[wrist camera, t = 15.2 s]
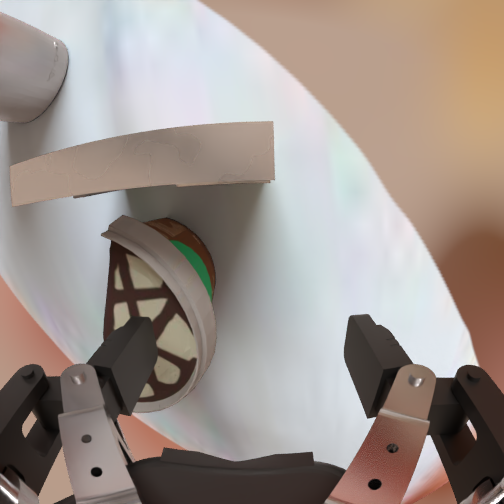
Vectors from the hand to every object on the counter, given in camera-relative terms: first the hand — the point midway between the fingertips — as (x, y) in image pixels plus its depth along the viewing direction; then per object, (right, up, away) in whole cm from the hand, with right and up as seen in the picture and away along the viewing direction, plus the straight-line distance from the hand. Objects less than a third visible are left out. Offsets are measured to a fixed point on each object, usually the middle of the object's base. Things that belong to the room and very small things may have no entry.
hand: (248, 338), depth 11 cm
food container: (-5, +1, +12) cm, 13 cm away
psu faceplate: (-4, +10, +9) cm, 14 cm away
